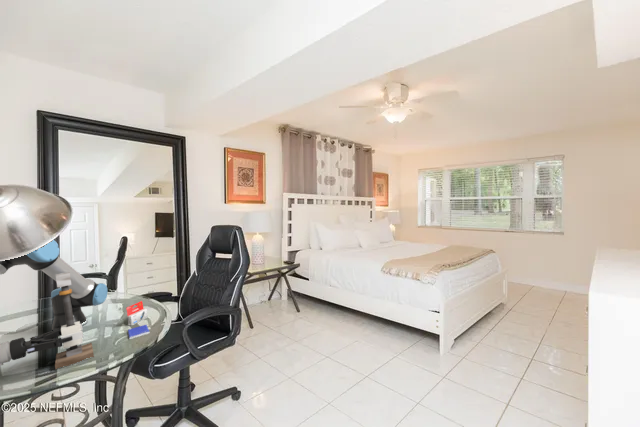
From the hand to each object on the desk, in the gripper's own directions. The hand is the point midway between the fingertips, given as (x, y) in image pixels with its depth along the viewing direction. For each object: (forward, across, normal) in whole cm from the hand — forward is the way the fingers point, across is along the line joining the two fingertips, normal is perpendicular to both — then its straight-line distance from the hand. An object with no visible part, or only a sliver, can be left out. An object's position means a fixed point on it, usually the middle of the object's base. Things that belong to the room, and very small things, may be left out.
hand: (82, 330), depth 127 cm
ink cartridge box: (+23, -26, -11) cm, 37 cm away
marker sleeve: (-4, 0, -4) cm, 6 cm away
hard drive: (+21, -7, -11) cm, 25 cm away
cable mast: (-4, 0, -10) cm, 11 cm away
